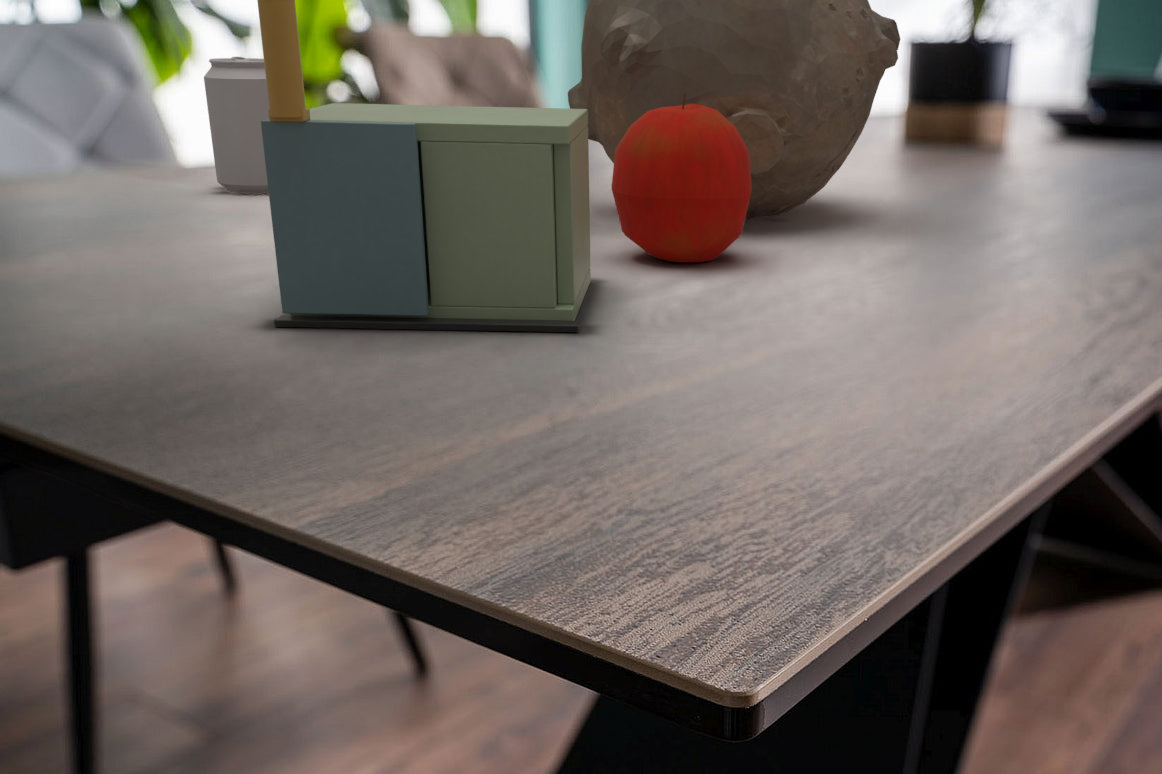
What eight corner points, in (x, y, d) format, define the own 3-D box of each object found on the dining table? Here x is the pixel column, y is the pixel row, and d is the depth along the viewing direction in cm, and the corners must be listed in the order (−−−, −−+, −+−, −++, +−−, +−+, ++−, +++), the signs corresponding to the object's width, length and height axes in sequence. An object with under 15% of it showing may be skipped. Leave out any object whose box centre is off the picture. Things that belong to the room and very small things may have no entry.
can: (241, 197, 109) (224, 59, 105) (204, 188, 114) (186, 56, 110) (315, 190, 114) (302, 58, 110) (277, 182, 119) (263, 55, 115)
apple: (664, 240, 94) (665, 87, 90) (775, 255, 89) (782, 94, 85) (585, 260, 86) (582, 92, 82) (703, 277, 81) (706, 100, 77)
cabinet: (274, 327, 66) (250, 120, 62) (342, 277, 78) (325, 102, 74) (577, 332, 66) (573, 128, 62) (596, 282, 79) (594, 109, 75)
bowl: (882, 247, 94) (902, -30, 86) (532, 229, 97) (523, -37, 90) (890, 198, 119) (906, -19, 111) (612, 186, 122) (609, -25, 115)
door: (276, 317, 65) (228, -97, 58) (287, 309, 67) (242, -94, 59) (423, 320, 65) (394, -93, 58) (430, 312, 67) (403, -90, 59)
